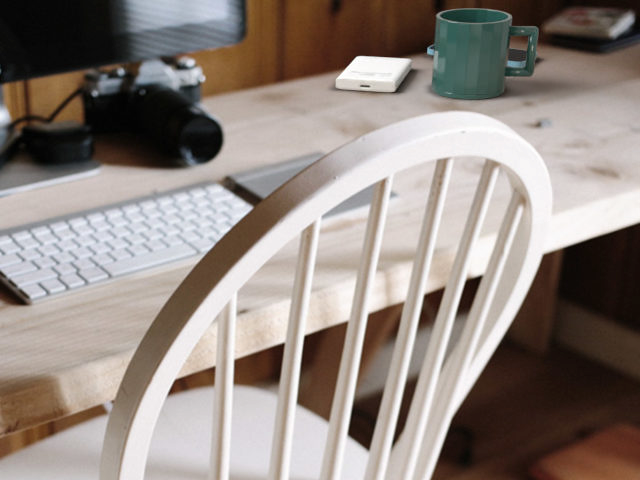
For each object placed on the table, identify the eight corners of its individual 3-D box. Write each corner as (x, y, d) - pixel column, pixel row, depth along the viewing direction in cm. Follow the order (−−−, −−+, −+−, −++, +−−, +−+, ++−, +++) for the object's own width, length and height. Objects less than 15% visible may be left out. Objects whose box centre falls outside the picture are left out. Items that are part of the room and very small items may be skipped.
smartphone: (522, 63, 145) (425, 48, 152) (521, 70, 146) (424, 56, 152) (539, 51, 150) (444, 38, 157) (538, 59, 151) (443, 46, 158)
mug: (432, 99, 134) (437, 23, 129) (430, 79, 142) (435, 8, 137) (535, 100, 132) (545, 24, 128) (527, 80, 141) (535, 8, 136)
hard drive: (411, 70, 147) (395, 93, 137) (355, 67, 149) (335, 89, 139) (412, 58, 146) (395, 80, 136) (356, 55, 148) (335, 76, 138)
